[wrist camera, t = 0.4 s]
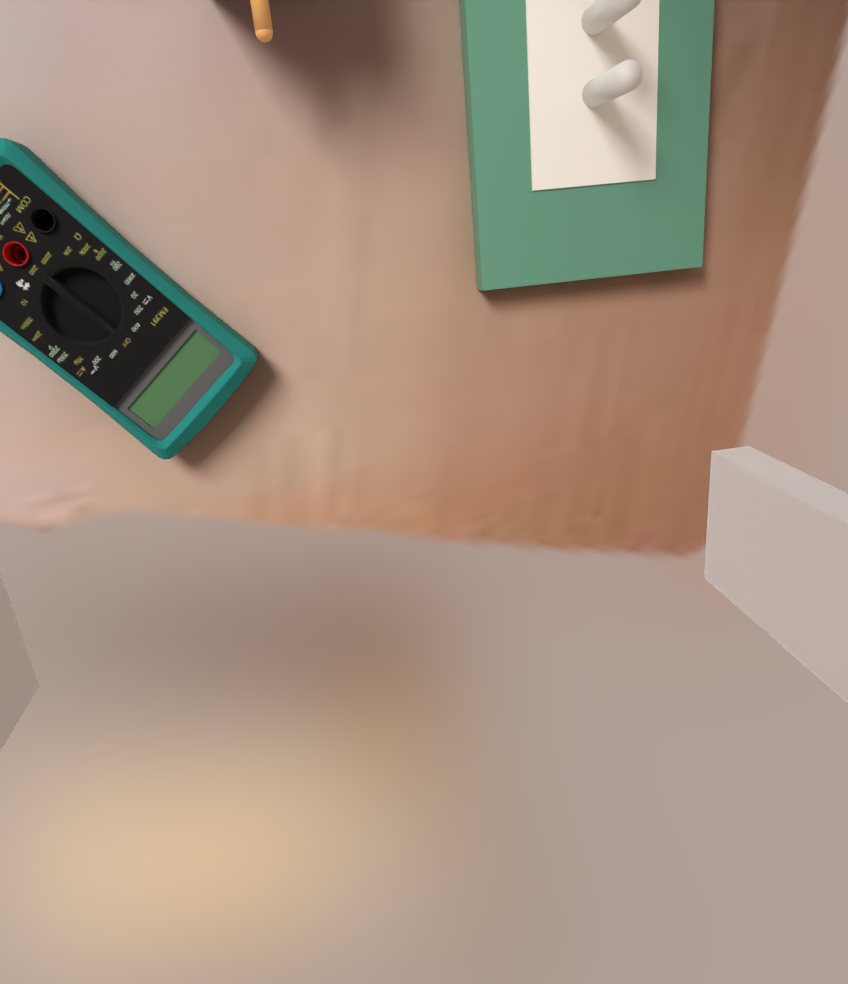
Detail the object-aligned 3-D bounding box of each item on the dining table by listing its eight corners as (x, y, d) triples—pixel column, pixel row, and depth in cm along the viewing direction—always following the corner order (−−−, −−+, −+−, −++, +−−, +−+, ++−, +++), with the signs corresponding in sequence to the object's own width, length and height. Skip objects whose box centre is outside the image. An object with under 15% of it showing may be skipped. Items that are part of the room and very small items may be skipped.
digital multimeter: (11, 130, 32) (-18, 119, 29) (266, 354, 37) (262, 363, 34) (-82, 252, 33) (-119, 253, 30) (177, 453, 38) (167, 470, 35)
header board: (447, -193, 30) (473, -278, 25) (709, -202, 31) (783, -283, 26) (477, 289, 37) (502, 296, 32) (690, 266, 38) (746, 269, 33)
